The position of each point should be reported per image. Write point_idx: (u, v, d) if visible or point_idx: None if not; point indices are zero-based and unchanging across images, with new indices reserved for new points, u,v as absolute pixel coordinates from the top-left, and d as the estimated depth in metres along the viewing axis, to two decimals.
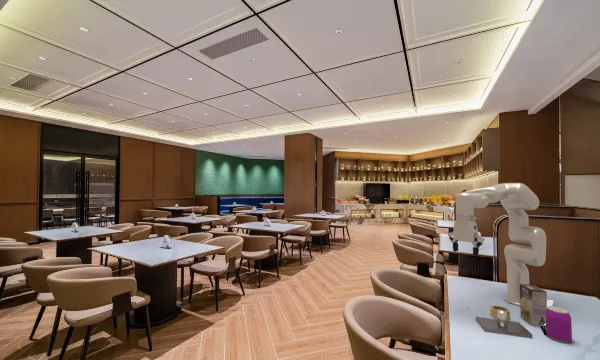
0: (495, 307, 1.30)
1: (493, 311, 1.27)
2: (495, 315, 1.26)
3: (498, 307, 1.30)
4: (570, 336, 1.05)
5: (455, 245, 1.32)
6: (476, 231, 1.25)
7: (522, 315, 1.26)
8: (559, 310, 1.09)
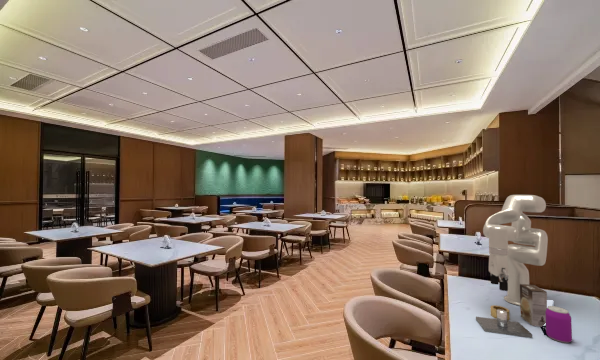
0: (495, 307, 1.30)
1: (493, 311, 1.27)
2: (495, 315, 1.26)
3: (498, 307, 1.30)
4: (570, 336, 1.05)
5: None
6: None
7: (522, 315, 1.26)
8: (559, 310, 1.09)
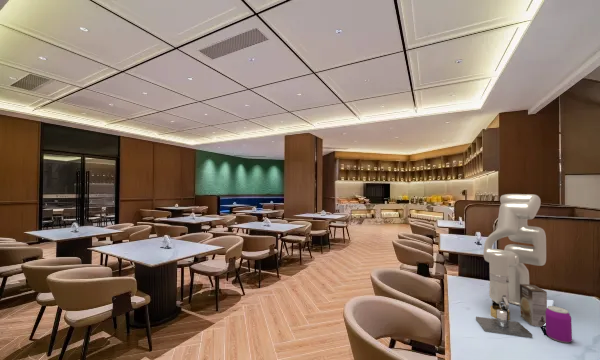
0: (495, 307, 1.30)
1: (493, 311, 1.27)
2: (495, 315, 1.26)
3: (498, 307, 1.30)
4: (570, 336, 1.05)
5: None
6: None
7: (522, 315, 1.26)
8: (559, 310, 1.09)
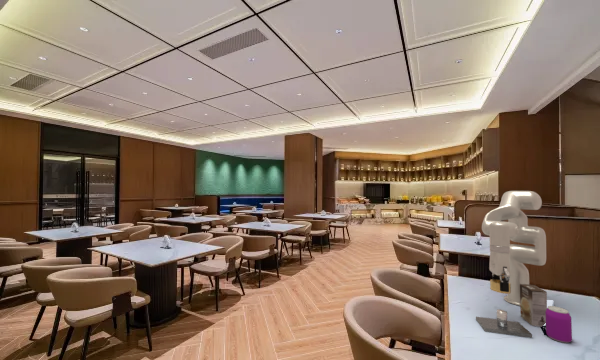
0: (495, 281, 1.23)
1: (493, 284, 1.19)
2: (495, 288, 1.18)
3: (498, 281, 1.22)
4: (570, 336, 1.05)
5: None
6: None
7: (522, 315, 1.26)
8: (559, 310, 1.09)
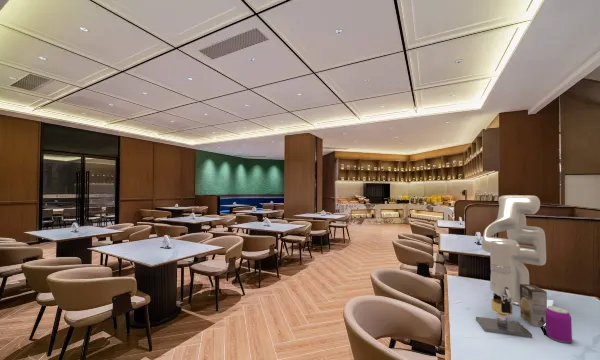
0: (496, 300, 1.19)
1: (494, 304, 1.16)
2: (496, 309, 1.15)
3: (500, 300, 1.19)
4: (570, 336, 1.05)
5: None
6: None
7: (522, 315, 1.26)
8: (559, 310, 1.09)
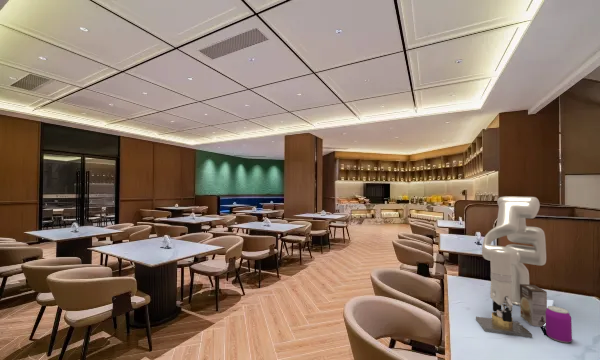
0: None
1: (495, 318, 1.16)
2: (497, 323, 1.15)
3: None
4: (570, 336, 1.05)
5: None
6: None
7: (522, 315, 1.26)
8: (559, 310, 1.09)
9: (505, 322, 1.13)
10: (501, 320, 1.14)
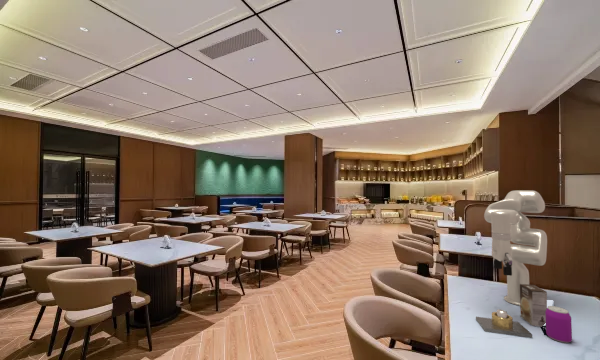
0: None
1: (495, 318, 1.16)
2: (497, 323, 1.15)
3: None
4: (570, 336, 1.05)
5: None
6: None
7: (522, 315, 1.26)
8: (559, 310, 1.09)
9: (505, 322, 1.13)
10: (501, 320, 1.14)
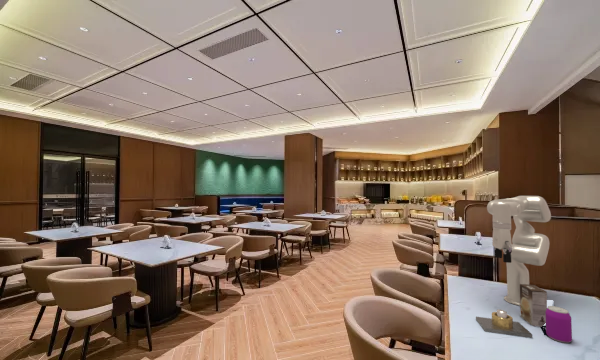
0: None
1: (495, 318, 1.16)
2: (497, 323, 1.15)
3: None
4: (570, 336, 1.05)
5: None
6: None
7: (522, 315, 1.26)
8: (559, 310, 1.09)
9: (505, 322, 1.13)
10: (501, 320, 1.14)
